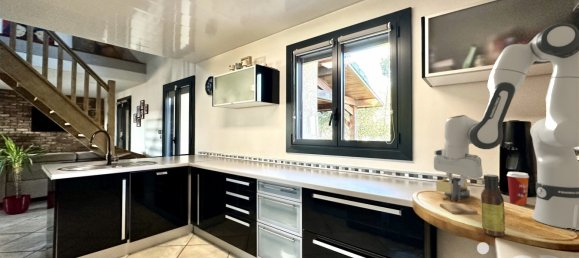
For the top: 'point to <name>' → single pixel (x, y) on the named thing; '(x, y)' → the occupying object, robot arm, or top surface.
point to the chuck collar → (448, 186)
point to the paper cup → (518, 187)
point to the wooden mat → (458, 209)
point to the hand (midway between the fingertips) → (456, 184)
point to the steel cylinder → (456, 190)
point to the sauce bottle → (492, 207)
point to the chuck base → (461, 194)
